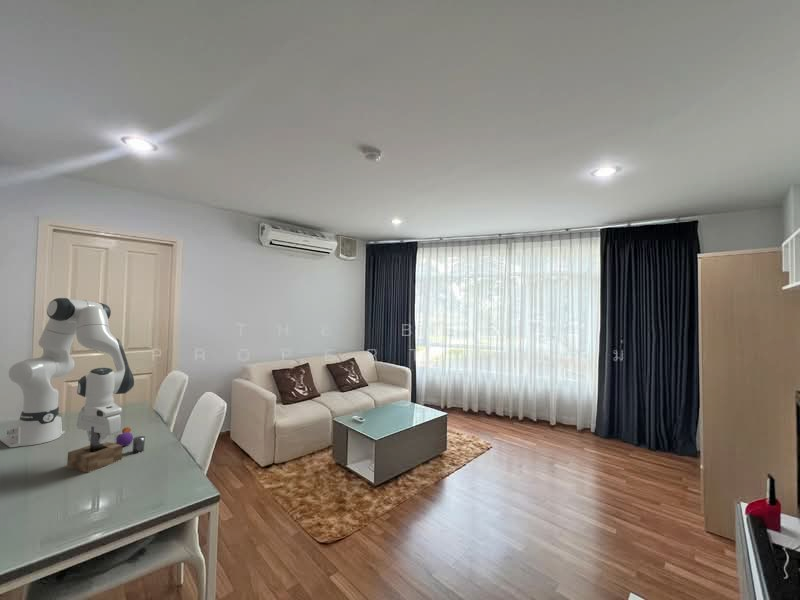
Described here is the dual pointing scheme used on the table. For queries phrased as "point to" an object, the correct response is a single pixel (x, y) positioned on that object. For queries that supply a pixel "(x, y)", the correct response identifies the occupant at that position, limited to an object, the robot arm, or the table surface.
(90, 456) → the hole block
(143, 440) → the short pin
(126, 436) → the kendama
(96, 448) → the long pin
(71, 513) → the table surface
